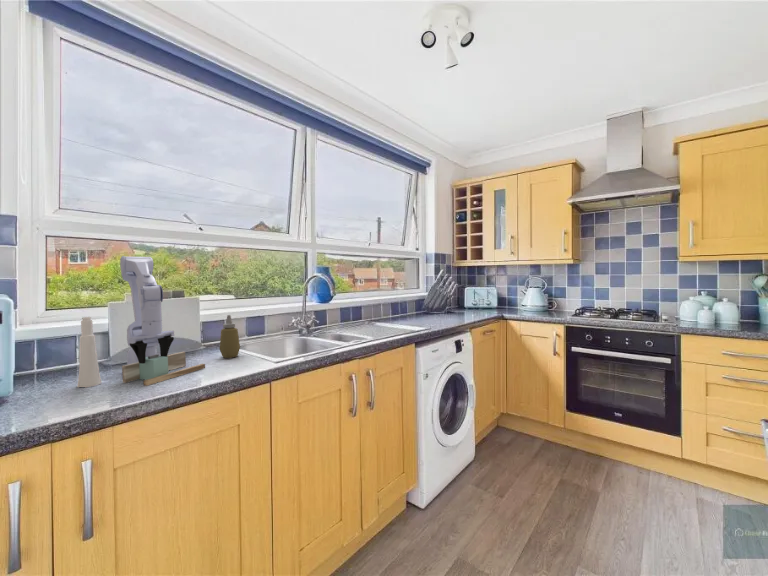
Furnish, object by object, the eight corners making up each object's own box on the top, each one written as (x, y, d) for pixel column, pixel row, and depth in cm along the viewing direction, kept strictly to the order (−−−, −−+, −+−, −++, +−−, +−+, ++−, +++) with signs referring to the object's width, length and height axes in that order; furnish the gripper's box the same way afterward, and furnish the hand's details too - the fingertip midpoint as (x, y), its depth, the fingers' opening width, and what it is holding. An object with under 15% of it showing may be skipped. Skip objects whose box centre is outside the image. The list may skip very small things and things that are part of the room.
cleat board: (122, 382, 112) (122, 365, 111) (183, 365, 132) (182, 351, 132) (146, 385, 108) (146, 368, 107) (205, 367, 128) (204, 353, 128)
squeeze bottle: (235, 359, 142) (233, 316, 141) (216, 359, 142) (214, 316, 141) (243, 354, 150) (242, 314, 149) (225, 354, 150) (224, 314, 149)
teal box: (139, 379, 115) (138, 356, 115) (154, 375, 120) (153, 353, 120) (154, 381, 113) (153, 357, 113) (168, 376, 117) (167, 354, 117)
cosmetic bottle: (106, 381, 113) (103, 315, 112) (91, 387, 107) (87, 318, 106) (88, 382, 113) (85, 316, 112) (71, 388, 107) (68, 318, 106)
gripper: (138, 324, 108) (139, 366, 108) (179, 318, 121) (181, 356, 122) (123, 323, 110) (124, 365, 111) (165, 318, 124) (167, 354, 124)
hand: (153, 360), depth 116 cm, fingers open, 7 cm apart
